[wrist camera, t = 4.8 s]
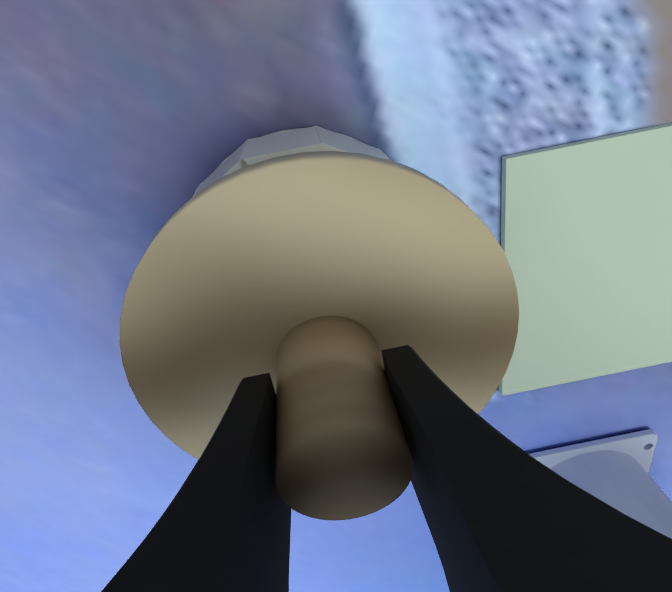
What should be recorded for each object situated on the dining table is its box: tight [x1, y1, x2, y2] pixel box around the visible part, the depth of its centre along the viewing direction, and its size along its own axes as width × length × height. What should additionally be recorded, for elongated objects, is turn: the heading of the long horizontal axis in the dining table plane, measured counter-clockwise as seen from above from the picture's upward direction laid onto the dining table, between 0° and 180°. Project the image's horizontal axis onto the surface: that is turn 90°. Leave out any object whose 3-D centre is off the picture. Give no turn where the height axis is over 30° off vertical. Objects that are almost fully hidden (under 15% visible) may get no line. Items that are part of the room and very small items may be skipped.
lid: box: [120, 151, 519, 520], centre depth 10 cm, size 10×10×4 cm
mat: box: [499, 123, 672, 396], centre depth 20 cm, size 12×10×1 cm
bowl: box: [193, 125, 390, 196], centre depth 17 cm, size 9×9×4 cm
